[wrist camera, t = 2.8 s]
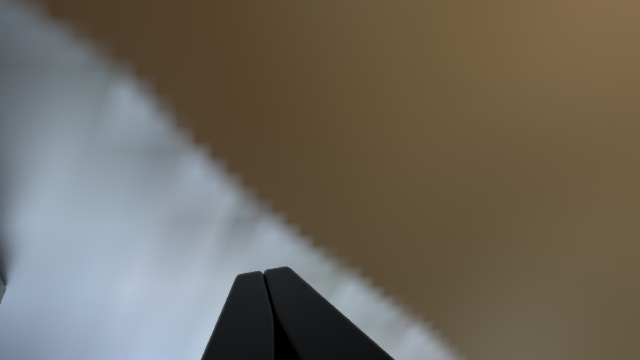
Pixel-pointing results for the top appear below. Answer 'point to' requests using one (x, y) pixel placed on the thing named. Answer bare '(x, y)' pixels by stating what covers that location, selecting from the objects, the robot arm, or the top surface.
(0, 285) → the rail
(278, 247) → the top surface
